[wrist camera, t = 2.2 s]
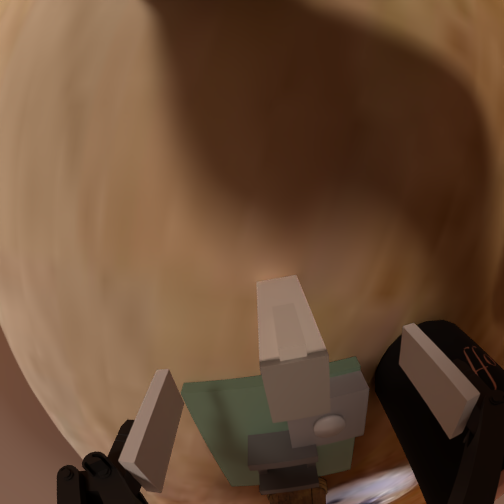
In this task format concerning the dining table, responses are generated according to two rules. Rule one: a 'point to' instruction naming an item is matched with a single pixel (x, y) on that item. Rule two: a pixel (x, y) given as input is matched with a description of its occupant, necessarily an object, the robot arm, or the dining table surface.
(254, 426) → the board
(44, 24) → the dining table surface
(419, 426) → the coffee jar
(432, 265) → the dining table surface
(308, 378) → the plug
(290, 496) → the wooden mug
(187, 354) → the dining table surface
